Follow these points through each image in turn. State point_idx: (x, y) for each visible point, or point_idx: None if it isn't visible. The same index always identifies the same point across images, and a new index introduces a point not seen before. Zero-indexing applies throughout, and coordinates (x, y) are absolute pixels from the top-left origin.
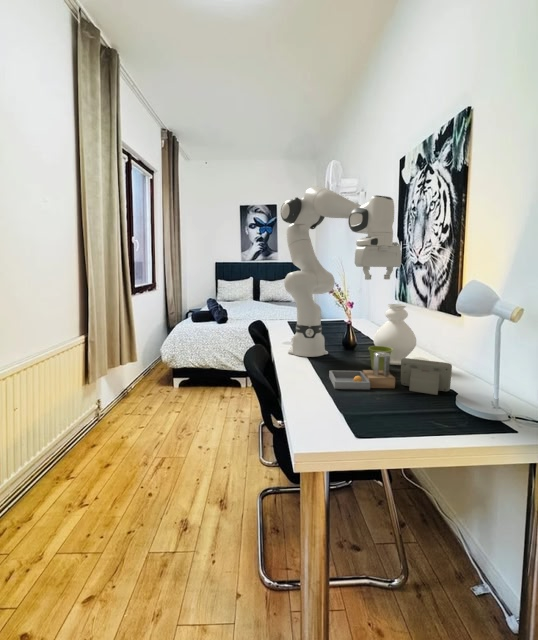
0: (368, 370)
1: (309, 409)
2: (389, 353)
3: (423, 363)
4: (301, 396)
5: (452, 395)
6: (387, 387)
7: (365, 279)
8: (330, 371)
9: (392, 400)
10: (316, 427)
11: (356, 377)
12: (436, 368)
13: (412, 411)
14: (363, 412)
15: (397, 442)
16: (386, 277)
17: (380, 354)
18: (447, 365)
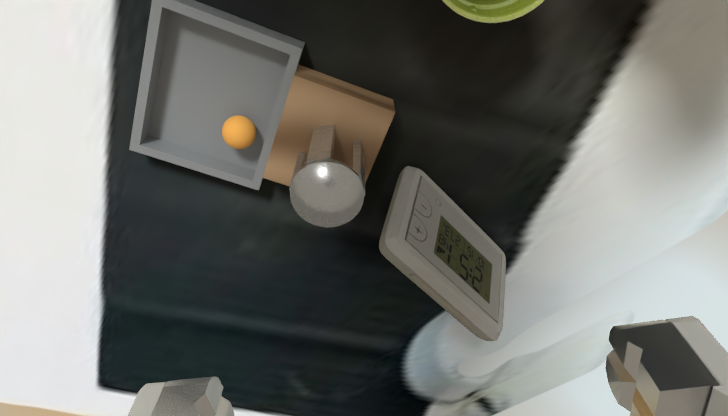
0: (314, 90)
1: (20, 260)
2: (509, 9)
3: (428, 294)
4: (5, 170)
5: None
6: None
7: (151, 387)
8: (153, 10)
9: (280, 267)
10: (24, 339)
11: (227, 141)
12: (476, 288)
13: (285, 330)
14: (161, 307)
15: None
16: (627, 389)
17: (311, 205)
18: (480, 337)
